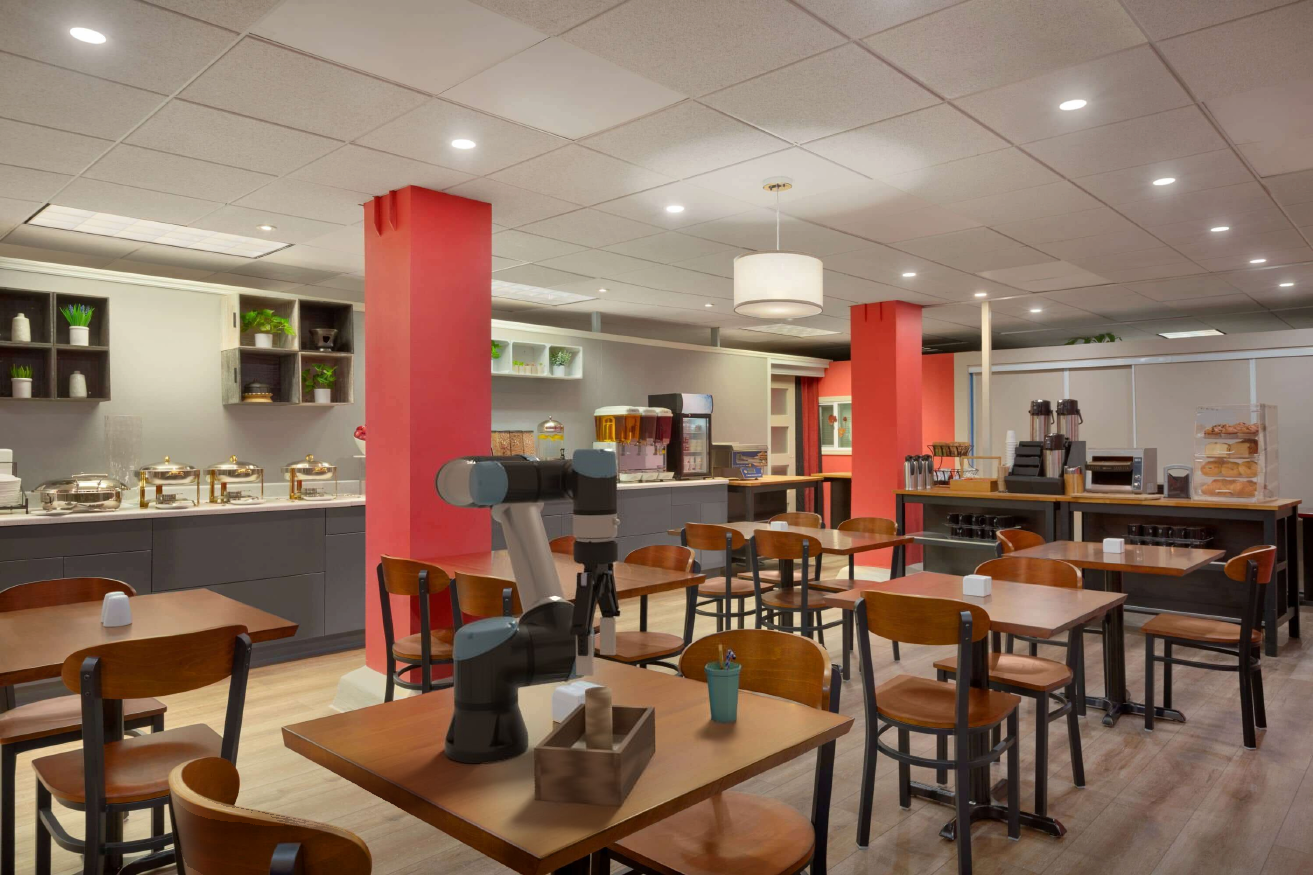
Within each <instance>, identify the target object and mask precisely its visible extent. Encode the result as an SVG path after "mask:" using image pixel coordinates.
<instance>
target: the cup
mask: <svg viewBox="0 0 1313 875" xmlns="http://www.w3.org/2000/svg"><path fill="white" fill-rule="evenodd" d="M725 655H726V656H725V661H724V655H723V646H722V644H718V657H719V661H713V662H708V663H707V664H706V665H705V667H704V673H705V674H706V679H707V680H706V681H707V691H708V699H709V707H710V710H709V711H710V719H711V720H712V721H714V722H715V723H727V724H728V723H732V722H736V721H737V719H738V701H739V685H740V673H741V671H742V665H741V664H740V663H736V662H733V661H735V660H736V659H737V657H736V655H735V653H734V652H733V651H732V649H728V650H727V651H726V654H725ZM731 660H732V661H731Z"/></svg>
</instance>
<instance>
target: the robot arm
mask: <svg viewBox="0 0 1313 875" xmlns="http://www.w3.org/2000/svg"><path fill="white" fill-rule="evenodd" d="M618 472H619V471H618V466H617V455H616V452H615V450H614V449H612V448H578V449H575V450H574V451H573V453H572V458H570V459H569V458H568V459H566V458H563V459H549V460H548V459H545V460H540V459H539V458H538V457H537V456H535V455H531V454H530V455H529V454H521V453H516V454H513V455H507V454H506V455H497V454H496V455H494V454H493V455H491V454H490V455H488V454H487V455H465V456H460V457H456V458H452V459H451V460H448V461H447V462H445V463H444V464H442V465H441V466H440V467H439V469H438V471H437V472H436V474H435V477H434V488H435V492H436V494H437V496H438V497H439V498H440V500H441V501H443V502H445V503H446V504H448V505H450V506H454V507H458V508H462V509H489V510H490V513H491V517H492V518H493V520H495V521H496V522H498V523H501V527H502V532H503V536H504V540H505V544H506V548H507V552H508V556H509V561H510V564H511V568H512V572H513V575H514V576H513V577H514V581H515V585H516V588H517V592H518V596H519V599H520V604H521V608H522V614H521V615H520V617H519V619H518V621H517V619H516V618H515V617H513V616H499V617H497V616H495V617H493V616H492V617H488V618H484V619H479V620H475V621H472V622H469V623H467V624H465V625H463V626H461V627H460V628H459V629H458V630H457V631H456V632H455V634H454V637H453V648H452V655H451V656H452V659H453V701H454V702H453V705H454V706H453V707H454V708H453V712H452V716H451V719H450V722H449V725H448V729H447V732H446V736H445V739H444V756H446V757H447V758H448V759H450V760H452V761H455V762H459V763H467V764H486V763H488V764H489V763H495V762H500V761H501V762H502V761H505V760H508V759H512V758H515V757H517V756H520V755H521V754H523V753H525V752H526V751H528V750H527V749H528V748H529V734H528V728H527V726H526V723H525V721H524V717H523V714H522V711H521V709H520V706H519V689H520V688H525V687H533V686H541V685H546V684H547V685H549V684H554V683H562V682H564V683H568V682H569V681H572V680H576V679H577V680H578V679H582V678H584V677H585V676H587V677H591V676H594V657H595V651H596V650H595V648H596V646H595V645H596V639H595V630H594V626H593V624H594V620H595V614H596V610H597V604H598V608H599V610H600V613H601V616H600V617H599V655H603V656H615V655H616V654H617V651H616V650H617V647H616V646H617V645H616V644H617V641H616V640H617V638H616V636H617V634H616V629H617V628H616V617H617V618H618V617H621V610H620V605H619V598H618V593H617V586H616V580H615V575H614V563H616V562H617V561H618V559H619V558H618V557H619V554H618V553H619V552H618V549H619V548H618V544H619V543H618V541H617V539H615V538H616V537H617V536H618V526H619V525H621V520H620V519H617V518H618ZM563 502H572V508H573V510H572V537H574V538H575V539H576V540H575V541H574V542H573V544H572V545H573V561H574V563H576V564H579V565H580V564H582V566H583V572H577V574H576V588H575V596H574V603H572V602H571V601H569V600H566V599H565V595H564V591H563V588H562V584H561V581H560V578H559V574H558V571H557V567H556V564H555V563H556V562H555V561H554V556H553V553H552V549H551V546H550V542H549V538H548V536H547V532H546V529H545V525H544V521H543V519H542V515H541V512H542V510H543V508H544V505H545V503H563Z"/></svg>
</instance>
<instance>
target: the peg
mask: <svg viewBox="0 0 1313 875" xmlns="http://www.w3.org/2000/svg"><path fill="white" fill-rule="evenodd" d="M584 690H585V691H584V704H585V720H586V749H596V750H613V740H612V705H613V696H612V694H613V691H612V688H610V687H608V686H593V687H588V688H586V689H584Z"/></svg>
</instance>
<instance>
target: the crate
mask: <svg viewBox="0 0 1313 875" xmlns="http://www.w3.org/2000/svg"><path fill="white" fill-rule="evenodd" d="M655 709H656V707H655V706H642V705H641V706H640V705H625V704H624V705H621V704H619V705H618V704H612V740H613V750H596V749H586V720H585V703H582V702H581V703H580V704H579V705H578V706H576V707H575V708H574V710H573V711H571V713H569V714H568V715H567V716H566V717H565V718H564V719H563V720H562V721H561V722H559V724H557V725H556V727H555V728H554V729H552V731H551V732H549V733H548V734H547V735H546V736H545V737H544V738H543V739H542V740H541V741H540V742H539V743H538V744H537V745H535V747H533V753H534V754H533V757H534V758H533V759H534V760H533V761H534V762H533V763H534V764H533V765H534V766H533V767H534V772H533V773H534V800H535V801H536V800H537V801H548V802H561V803H562V802H563V803H573V804H588V805H589V804H590V805H601V806H614V807H615V806H617V807H622V806H623V805H624V802H625V801H626V799H627V798H628V797H629V794H630V793H631V791H632V789H633V788H634V787H635V785H636V783H637V781H638V780H639V779H640V777H641V776H642V774H643V772H644V771H645V769H646V768H647V766H648V764H649V762H650V761H651V760H652V758H653V756H654V755H655V753H656V748H657V747H656V710H655Z"/></svg>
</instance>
